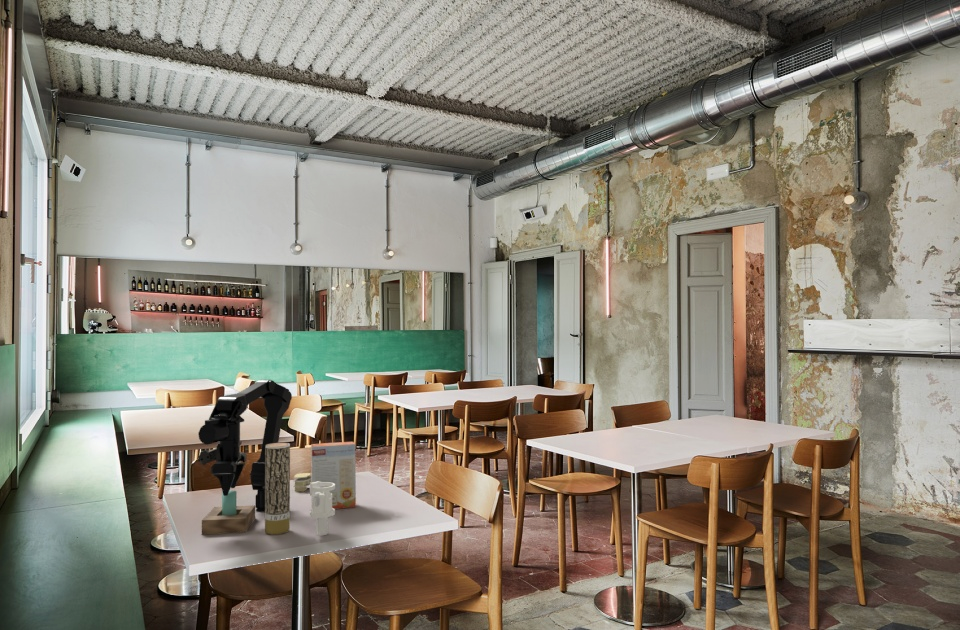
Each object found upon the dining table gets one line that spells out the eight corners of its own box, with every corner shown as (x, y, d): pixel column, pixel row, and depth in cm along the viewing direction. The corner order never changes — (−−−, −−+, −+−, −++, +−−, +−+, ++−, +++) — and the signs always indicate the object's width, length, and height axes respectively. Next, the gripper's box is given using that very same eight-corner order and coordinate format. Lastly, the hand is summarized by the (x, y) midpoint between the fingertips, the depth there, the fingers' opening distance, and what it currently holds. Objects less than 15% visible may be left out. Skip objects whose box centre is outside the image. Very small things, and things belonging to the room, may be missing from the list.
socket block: (255, 518, 200) (255, 505, 200) (245, 532, 186) (245, 518, 186) (214, 520, 198) (214, 507, 198) (201, 534, 184) (201, 520, 184)
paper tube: (260, 531, 186) (261, 444, 187) (282, 526, 191) (282, 441, 191) (271, 537, 181) (272, 447, 182) (293, 531, 186) (294, 444, 187)
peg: (237, 523, 194) (237, 490, 194) (234, 527, 190) (234, 493, 190) (223, 524, 193) (223, 490, 194) (220, 528, 190) (220, 494, 190)
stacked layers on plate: (310, 493, 231) (310, 478, 231) (285, 493, 232) (286, 478, 232) (318, 486, 241) (318, 472, 241) (295, 486, 242) (295, 472, 242)
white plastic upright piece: (305, 533, 185) (305, 480, 185) (328, 528, 189) (328, 477, 189) (315, 539, 179) (315, 485, 179) (339, 534, 183) (339, 481, 184)
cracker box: (353, 503, 217) (353, 440, 217) (356, 507, 211) (356, 443, 212) (310, 506, 213) (310, 443, 213) (311, 511, 207) (312, 446, 207)
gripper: (209, 434, 200) (209, 485, 200) (192, 445, 182) (191, 500, 181) (247, 433, 202) (246, 484, 202) (233, 444, 184) (233, 499, 183)
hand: (229, 491), depth 192 cm, fingers open, 9 cm apart
